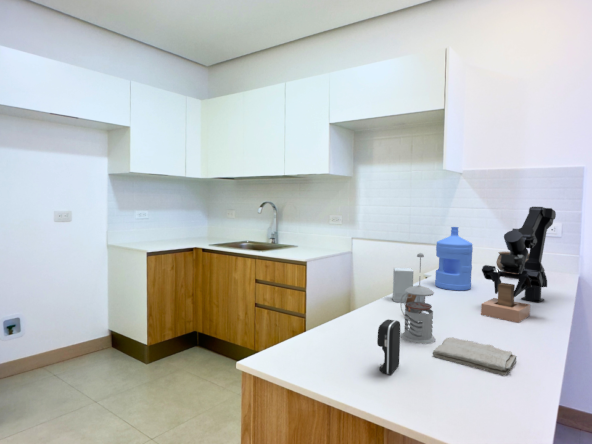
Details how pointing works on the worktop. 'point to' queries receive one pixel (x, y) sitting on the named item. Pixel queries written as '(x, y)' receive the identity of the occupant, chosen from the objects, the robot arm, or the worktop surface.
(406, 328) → the french press
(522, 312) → the socket
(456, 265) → the water jug
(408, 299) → the tin
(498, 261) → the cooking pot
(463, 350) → the washcloth
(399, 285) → the supplement box
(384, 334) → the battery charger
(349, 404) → the worktop surface
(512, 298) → the peg
